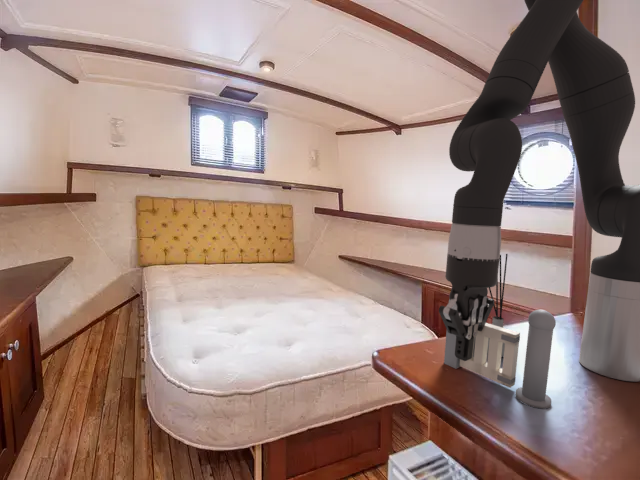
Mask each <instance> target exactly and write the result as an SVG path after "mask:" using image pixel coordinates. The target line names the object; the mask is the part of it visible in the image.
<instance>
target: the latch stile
mask: <svg viewBox="0 0 640 480" xmlns="http://www.w3.org/2000/svg"><path fill="white" fill-rule="evenodd" d="M449 302H450V299H449V300H448V303H449ZM445 332H446V334H445V345H444V357H443V358H444V359H443V364H444V365H447V366H449V367H450V368H453V369H459V368H460V367H461V366H460V359H459V358H457V357H456V356H455V346H456V335H454V334H450V333H448V331H447V330H446V331H445ZM475 340H476V337H475V338H474V348H473V357H474V351H475ZM461 368H462V367H461Z"/></svg>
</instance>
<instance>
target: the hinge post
mask: <svg viewBox="0 0 640 480" xmlns="http://www.w3.org/2000/svg"><path fill="white" fill-rule="evenodd" d="M527 321H528V333H527V341H526V348H525V349H526V350H525V351H526V352H525V358H524V359H525V360H524V368H523V369H524V370H523V379H522V387H518V388H516V389H515V395H514V396H515V397H516V399H517V400H518V401H519V402H521V403H522V404H525V405H526V406H529V407H532V408H534V409H542V410H545V409H549V408H551V406H552V402H553V401H552V399H551V397H550V396H549V395H548V394H546V393H547V386H548V385H547V384H548V377H549V369H550V361H551V352H552V343H553V342H552V341H553V336H554V335H553V334H554V329H555V327H556V323H557V322H556V318H555V317H554V315H553V314H552V312H550V311H547V310H546V309H535V310H533V311H531V312H530V314H529V315H528V318H527Z"/></svg>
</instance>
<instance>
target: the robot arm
mask: <svg viewBox="0 0 640 480" xmlns="http://www.w3.org/2000/svg"><path fill="white" fill-rule="evenodd" d="M583 2H584V0H524V4H525V6H526V9H527V10H528V12H526V15H524V17H523V19H522V20H521V21H520V22H519V24H518V25H517V27H516V28H515V29H514V31H513V32H512V34H511V35H510V36H509V38H508V39H507V40H506V42H505V44H504V45H503V47H502V49H501V50H500V51H499V53H498V54H497V57H496V59H495V61H494V63H493V66H492V68H491V70H490V71H489V73H488V76H487V78H486V81H485V82H484V86H483V88H482V91H481V93H480V94H479V96H478V98H477V99H475V101H474V103H473V104H472V105H471V106H470V108H469V109H468V111H467V112H466V114H465V115H464V117H463V118H462V119H461V121H460V122H459V123H458V125H457V127H456V129H455V130H454V132H453V135H452V136H451V139H450V143H449V149H448V150H449V151H448V152H449V158H450V162H451V164H452V165H453V166H454V167H455V168H456V169H457V170H459V171H462V172H473V175H472V177H471V179H470V181H469V182H468V184H466V185H464V186H462V187H460V188H458V189H457V190H456V192H455V194H454V197H453V198H454V199H453V204H452V205H453V206H452V217H451V228H450V230H449V236H448V244H447V254H446V256H447V257H446V264H445V265H446V267H445V277H444V278H445V279H446V281H448V282H449V283H450V284H451V288H450V289H451V290H450V292H449V295H448V297H449V300H450V302H449V301H448V302H447V304H446V306H445V305H440V306H439V307H438V308H439V309H438V313H439V316H440V317H441V320H442V322H443V324H444V326H445V328H446V331H448V333H450V334H454V335H456V346H455V356H456V357H457V358H459V359H461V360H463V361H467V360H469V359H471V358H472V353H473V343H474V338H475V337H476V336H477V331H482V330H483V328H484V325H485V323H487V321H488V320H489V316H490V315H491V312H492V310H493V309H494V306H493V305H494V304H495V300H494V298H493V299H492V298H489V297H488V293H489V288H490V289H491V288H493V287H495V286H496V284H497V278H498V279H499V277H498V276H499V270H500V255H501V249H502V227H501V226H502V220H503V219H502V218H503V211H504V210H503V209H504V201H505V197H506V195H507V193H508V191H509V188H510V187H511V186H510V185H511V183H512V181H513V178H514V175H515V172H516V169H517V167H518V165H519V162H520V158H521V155H522V150H523V140H522V139H523V138H522V137H523V136H522V134H521V131H520V128H519V127H518V125H517V124H516V123H515V122H514V121H512V120H513V119H515V118H516V117H518V116H520V115H521V114H523V113H524V112H525V111H526V109H528V106H530V105H529V104H530V103H531V102H532V101H531V100H532V98H533V96H534V93H535V91H536V89H537V87H538V86H539V82H540V80H541V78H542V76H543V74H544V71H545V69H546V67H547V65H549V68H550V71H551V74H552V77H553V82H554V85H555V89H556V93H557V98H558V101H559V105H560V107H561V108H560V109H561V111H562V115H563V118H564V121H565V124H566V127H567V131H568V133H569V139H570V140H571V146H572V150H573V154H574V157H575V158H574V159H575V161H576V165H577V169H578V175H579V183H580V188H581V189H580V190H581V197H582V202H583V207H584V213H585V218H586V220H587V222H588V224H589V227H591V229H593V231H594V232H596V233H597V234H600V235H601V236H607V237H614V238H621V239H620V244H619V246H618V248H617V249H616V250H615V251H614V252H611V253H609V254H605V255H600V256H596V257H594V258H593V259H592V261H591V265H590V271H589V279H588V280H589V281H588V288H587V296H586V303H585V304H586V305H585V313H584V319H583V326H582V336H581V342H580V350H579V359H578V361H579V363H580V364H581V365H582V366H583V367H584V368H586V369H587V370H590V371H591V372H594V373H596V374H599V375H601V376H605V377H607V378H611V379H614V380H619V381H623V382H640V184H630V185H629V184H628V185H627V184H625V183H624V182H625V181H624V180H623V176H622V173H621V168H620V159H619V158H620V156H619V155H620V149H621V146H622V143H623V141H624V138H625V136H626V134H627V132H628V129H629V127H630V124H631V121H632V119H633V115H634V111H635V109H636V96H635V92H634V90H635V89H634V86H633V83H632V78H631V74H630V70H629V67H628V64H627V61H626V60H625V59H624V57H623V56H622V55H621V54H620V53H619V52H618V51H617V50H616V49H614V48H613V47H612V46H611V45H610V44H608V43H606V42H605V41H603V40H602V39H601V38H599V37H598V36H596V35H595V34H594V33H592V31H590V30H589V29H588V28H587V27H586V26H585V25H584V24H583V22H582V21H581V19H580V17H579V15H578V13H577V11H578V9H579V8H580V7H581V5H582V3H583Z"/></svg>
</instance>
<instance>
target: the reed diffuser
mask: <svg viewBox="0 0 640 480" xmlns="http://www.w3.org/2000/svg"><path fill="white" fill-rule="evenodd" d="M508 256H509V255H508V253H506V254H505V261H504V262H505V263H504V272H503V281H502V254H500V259H499V277H498V278H497V284H496V285H495V286H496V287H495V288H496V289H495V296H496V297H495V300H496V301H495V303H494V305H493V310H494V313H495V315H493V316H492V322H491V324H492V325H495V326H499V327H502V328H504V320H505V319H504V317H503V316H502V315H503V314H502V312H503V305H504V293H505V284H506V283H505V282H506V273H507V265H508ZM498 284H499V285H498ZM491 289H492V288H491V287H490V288H488V292H489V295H490V299H493V300H494V296H493V294H492V290H491ZM498 290H499V291H498ZM498 313H499V314H498ZM489 341H490V338H489V339H488V350H487V354H488V351H489ZM504 348H505V343H503V345H502V355H501V357H504Z"/></svg>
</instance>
